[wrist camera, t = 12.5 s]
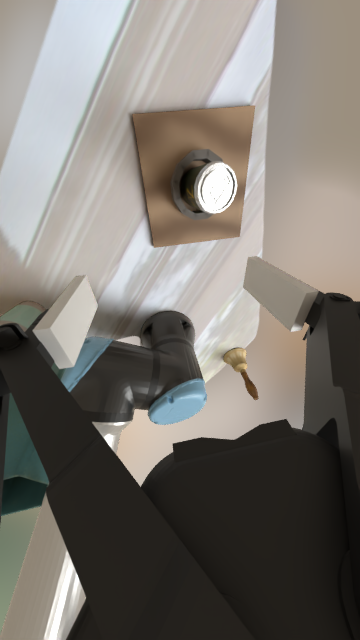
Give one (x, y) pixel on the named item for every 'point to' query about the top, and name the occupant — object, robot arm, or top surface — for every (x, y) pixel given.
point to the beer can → (209, 187)
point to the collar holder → (185, 154)
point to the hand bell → (241, 368)
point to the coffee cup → (22, 314)
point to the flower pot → (22, 464)
